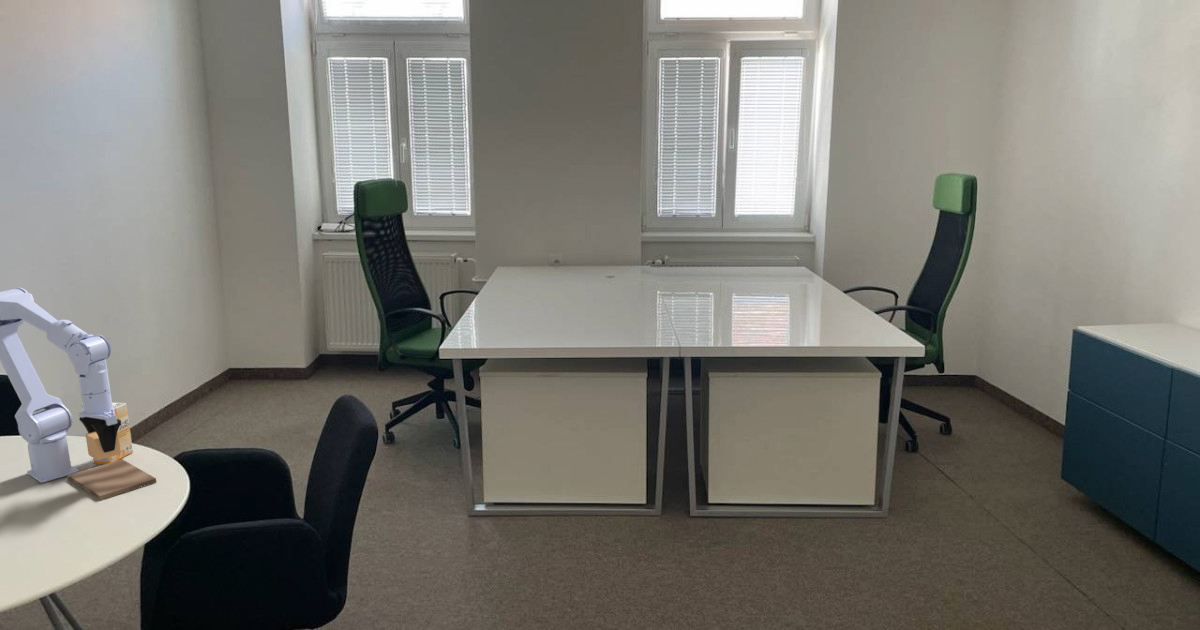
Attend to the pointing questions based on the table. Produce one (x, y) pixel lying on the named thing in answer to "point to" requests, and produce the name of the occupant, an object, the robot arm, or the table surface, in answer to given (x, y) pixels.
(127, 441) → the supplement box
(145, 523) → the table surface
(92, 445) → the orange cube
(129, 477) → the walnut board
